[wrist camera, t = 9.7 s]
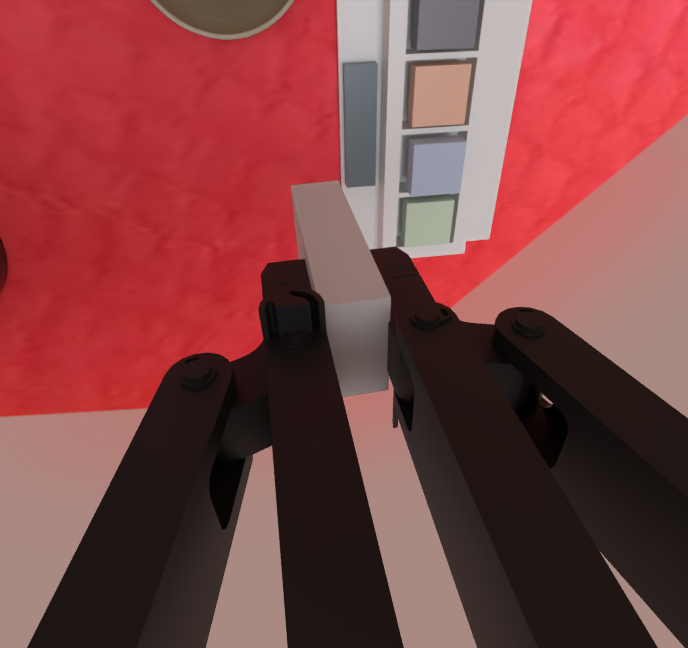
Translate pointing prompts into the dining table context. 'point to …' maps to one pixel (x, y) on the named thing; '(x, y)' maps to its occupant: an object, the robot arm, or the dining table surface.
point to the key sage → (426, 220)
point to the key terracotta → (438, 93)
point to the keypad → (394, 131)
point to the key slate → (435, 165)
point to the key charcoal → (444, 24)
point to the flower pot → (224, 16)
